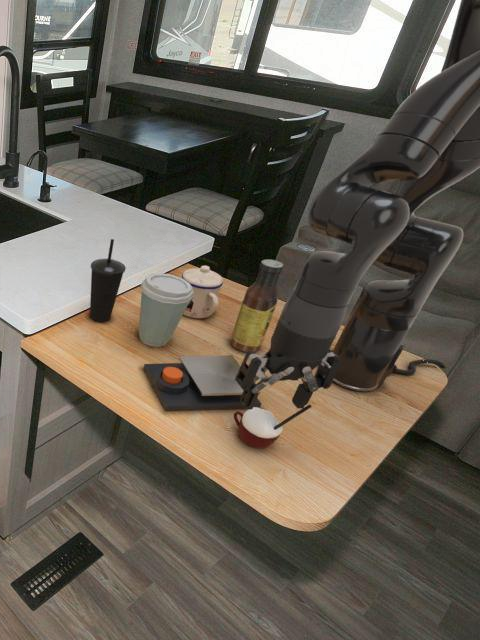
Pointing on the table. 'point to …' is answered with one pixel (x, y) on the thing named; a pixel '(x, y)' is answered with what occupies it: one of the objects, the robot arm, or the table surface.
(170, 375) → the power button
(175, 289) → the disposable coffee cup
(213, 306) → the teacup with lid
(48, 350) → the table surface
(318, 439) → the table surface
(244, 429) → the cocoa
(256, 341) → the sauce bottle
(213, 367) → the weighing plate
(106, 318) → the drinking cup
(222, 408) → the scale
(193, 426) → the table surface
